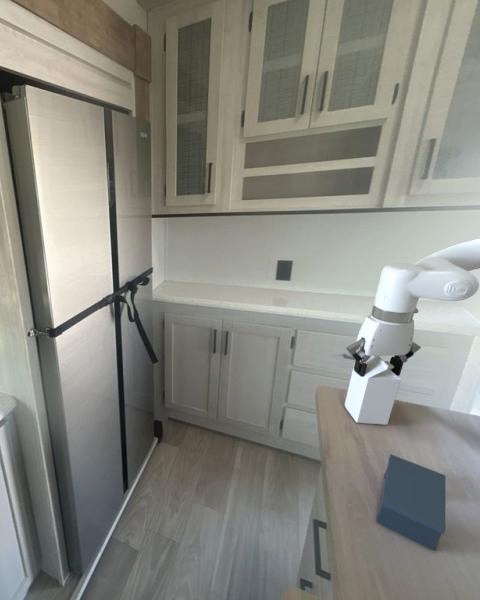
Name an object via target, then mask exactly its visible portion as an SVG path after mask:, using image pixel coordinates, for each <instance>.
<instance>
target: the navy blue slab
mask: <svg viewBox="0 0 480 600" xmlns="http://www.w3.org/2000/svg"><path fill="white" fill-rule="evenodd" d="M383 478H384V484H383V489H382V496H381V501H380V507H379V510H378V512H377V515H376V523H377V524H380V525H382V526H384V527H386V528H388V529H389V530H392V531H394V532H396V533H397V534H400V535H402V536H404V537H406V538H407V539H410V540H411V541H414V542H416V543H418V544H420V545H422V546H424V547H425V548H428V549H430V550H432V551H434V550H435V548H436V546H437V544H438V543H439V540H440V538H441V536H442V535H444V534H445V532H446V484H447V483H446V482H447V481H446V475H445V474H443V473H441V472H437V471H435V470H432V469H430V468H427V467H425V466H423V465H419V464H417V463H415V462H412V461H409V460H406V459H404V458H402V457H399V456H398V455H397V456H396V455H394V454H391V453H390V455H389V457H388V462H387V466H386V469H385V473H384V477H383Z"/></svg>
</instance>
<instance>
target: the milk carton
mask: <svg viewBox="0 0 480 600" xmlns="http://www.w3.org/2000/svg"><path fill="white" fill-rule="evenodd" d="M365 363H366V364H367V368H366V372H365V375H364V377H361V376H360V375H358V374H357V373H356V372H355V371H354V365H355V362H354V363H353V367H352V372H351V376H350V379H349V385H348V389H347V393H346V398H345V400H344V401H345V402H344V408H345V409H346V410H347V412H348V413H349V414H350V416H351V417H352V418H353V420H354V421H355V423H358V424H368V425H369V424H371V425H383V426H384V425H385V426H386V425H388V424H389V420H390V417H391V415H392V411H393V408H394V405H395V404H394V403H395V401H396V397H397V394H398V391H399V388H400V383H401V381H402V379H401V378H400V376H397V375H396V374H395V373H394V372H392V371H391V369H392V368H394V366H393V365H392V364H390V361H388V360H385V361H384V359H382V358H381V356H372V357H370V358H369V359H368V360H367V361H366V362H365Z"/></svg>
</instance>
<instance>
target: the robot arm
mask: <svg viewBox="0 0 480 600" xmlns="http://www.w3.org/2000/svg"><path fill="white" fill-rule="evenodd" d="M479 269H480V238H477V239H471V240H467V241H464V242H460V243H457V244H454V245H451V246H448V247H446V248H444V249H440V250H438V251H436V252H433V253H431V254H429V255H426V256H425V257H423V258H420V259H419V260H418V261H416V262H415V263H413V264H412V263H405V262H394V263H389V264H386V265H385V266H383V267H382V269H381V273H380V277H379V280H378V283H377V284H378V285H377V288H376V292H375V297H374V301H373V303H372V304H373V305H372V309H371V312H370V314H368V315H366V318H364V320H363V322H362V325H361V327H360V329H359V331H358V333H357V338H356V340H355V342H353V343H351V344H350V345H348V346H346V348H345V349H346V350H347V353H349V355H350V356H351V357H353V359H355V361H354V363H355V365H354V364H353V367H354V371H355V372H356V373H357V374H358V375H360V376H361V377H364V375H365V372H366V368H367V364H366V363H365V362H366V361H367V360H368V359H369V358H370V357H372V356H379V357H388V356H389V357H390V360H389V363H390V364H392V365H393V366H394V368H392V369H391V371H392V372H394V373H395V374H396V375H397V376H398V377H400V376H401V372H402V370H403V366H404V364H405V363H407V362H408V359H410V358H412V357H413V356H414V355H415V354H416V353H417V352H418V351H420V350H421V348H422V347H421V345H419V344H418V343H416V342H414V341H413V340H414V335H415V320H414V319H413V318H414V316H415V314H418V313H419V308H417V305H418V301H419V300H420V299H419V298H421V299H428V300H434V301H440V302H460V301H463V300H467V299H470V298H471V297H473V296H474V295H475V294H476V293H477V292H478V290H479V287H480V283H479V280H478V278H477V277H476V276H475V274H473V273H472V272H470V271H473V270H479Z"/></svg>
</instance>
